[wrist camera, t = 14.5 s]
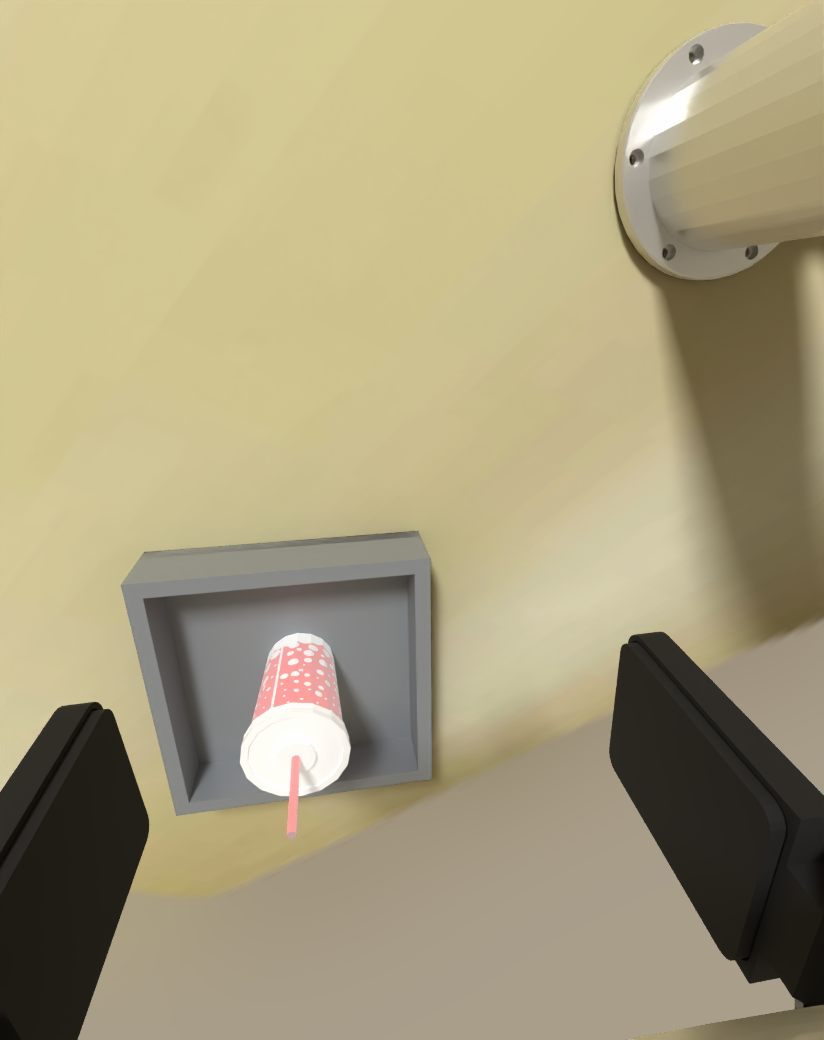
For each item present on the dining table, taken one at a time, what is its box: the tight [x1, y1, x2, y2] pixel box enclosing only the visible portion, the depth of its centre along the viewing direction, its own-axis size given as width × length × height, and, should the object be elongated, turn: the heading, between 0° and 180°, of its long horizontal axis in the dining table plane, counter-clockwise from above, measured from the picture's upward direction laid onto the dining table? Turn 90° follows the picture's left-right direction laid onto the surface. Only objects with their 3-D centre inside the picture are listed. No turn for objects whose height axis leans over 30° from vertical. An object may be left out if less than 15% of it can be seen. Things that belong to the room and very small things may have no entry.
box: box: [121, 531, 432, 816], centre depth 38 cm, size 18×18×4 cm
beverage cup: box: [240, 633, 351, 839], centre depth 32 cm, size 6×6×14 cm
